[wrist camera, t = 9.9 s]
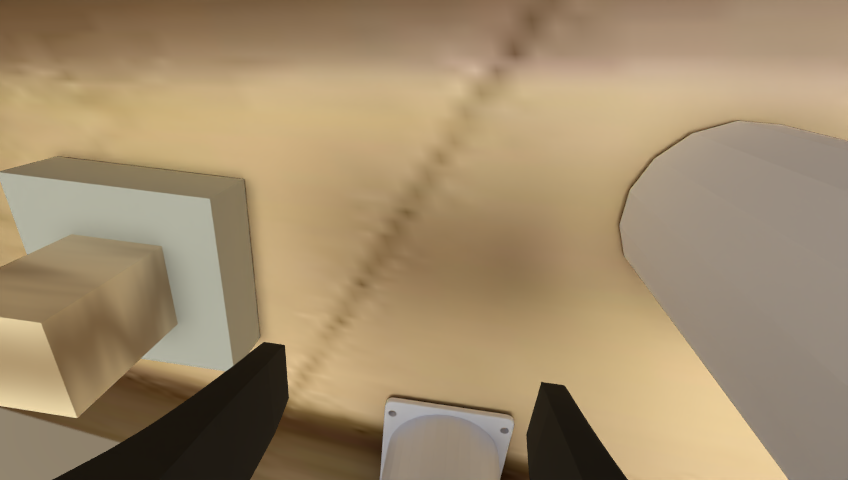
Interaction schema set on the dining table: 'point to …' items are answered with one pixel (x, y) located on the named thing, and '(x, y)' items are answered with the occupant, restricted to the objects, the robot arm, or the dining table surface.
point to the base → (155, 242)
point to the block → (79, 320)
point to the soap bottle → (756, 277)
